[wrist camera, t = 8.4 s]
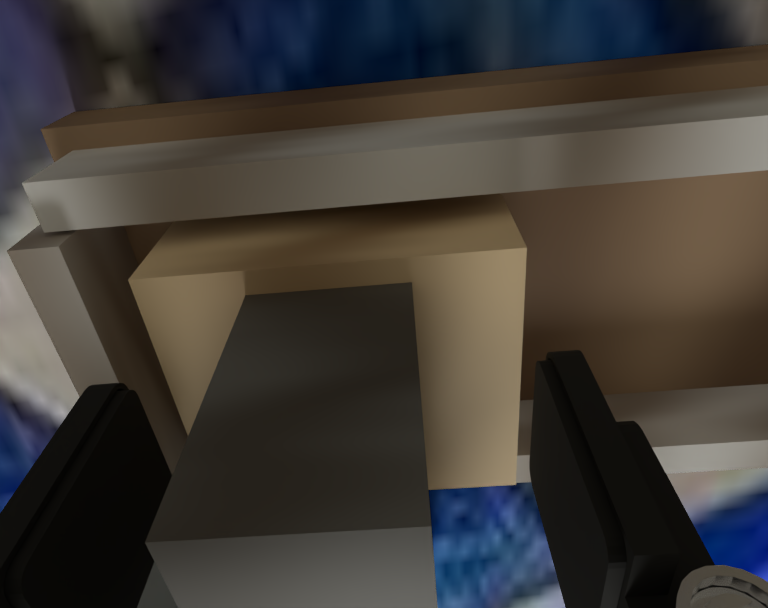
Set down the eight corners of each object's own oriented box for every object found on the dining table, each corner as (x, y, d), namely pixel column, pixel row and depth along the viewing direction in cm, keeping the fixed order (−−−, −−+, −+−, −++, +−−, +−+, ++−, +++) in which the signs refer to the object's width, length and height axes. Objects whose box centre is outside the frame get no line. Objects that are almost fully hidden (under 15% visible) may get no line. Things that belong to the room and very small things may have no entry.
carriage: (497, 185, 12) (638, 480, 5) (494, 396, 15) (580, 749, 9) (180, 212, 13) (-63, 524, 6) (241, 413, 16) (131, 765, 9)
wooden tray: (1124, 9, 12) (1416, 33, 9) (927, 375, 17) (1060, 480, 14) (74, 111, 13) (-35, 168, 10) (191, 425, 18) (147, 532, 15)
